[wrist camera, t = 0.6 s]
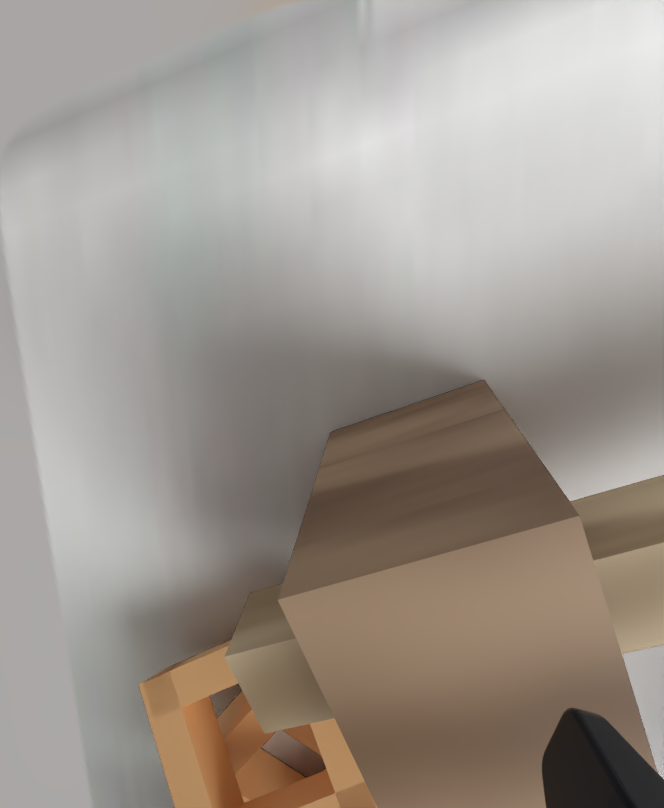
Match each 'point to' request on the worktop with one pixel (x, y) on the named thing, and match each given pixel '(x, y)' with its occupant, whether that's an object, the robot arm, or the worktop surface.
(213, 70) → the worktop surface
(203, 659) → the frame
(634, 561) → the shaft
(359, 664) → the bearing block
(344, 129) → the worktop surface
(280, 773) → the frame
